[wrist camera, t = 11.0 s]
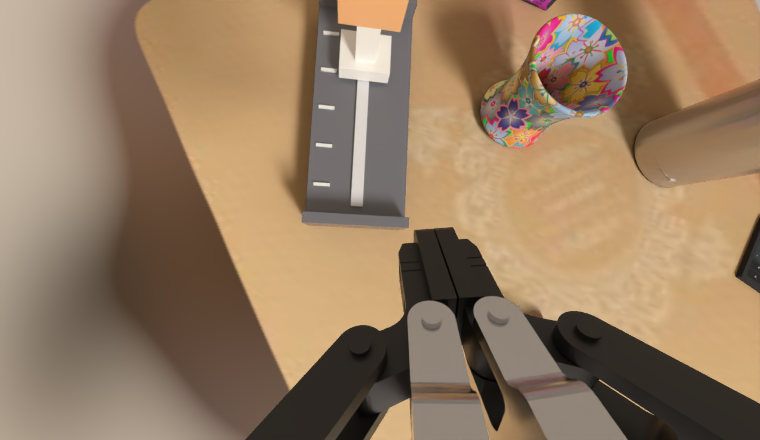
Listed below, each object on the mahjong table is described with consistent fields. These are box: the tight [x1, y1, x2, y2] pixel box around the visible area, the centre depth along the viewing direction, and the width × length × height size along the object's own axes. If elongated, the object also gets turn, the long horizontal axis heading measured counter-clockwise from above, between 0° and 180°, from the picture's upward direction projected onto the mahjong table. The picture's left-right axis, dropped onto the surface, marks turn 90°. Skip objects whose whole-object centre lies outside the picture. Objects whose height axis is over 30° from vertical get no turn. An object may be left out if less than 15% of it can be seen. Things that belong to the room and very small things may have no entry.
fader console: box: [302, 0, 417, 230], centre depth 30 cm, size 24×10×5 cm, turn 177°
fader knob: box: [338, 0, 409, 83], centre depth 24 cm, size 4×5×10 cm
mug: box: [480, 14, 627, 148], centre depth 30 cm, size 12×9×11 cm
